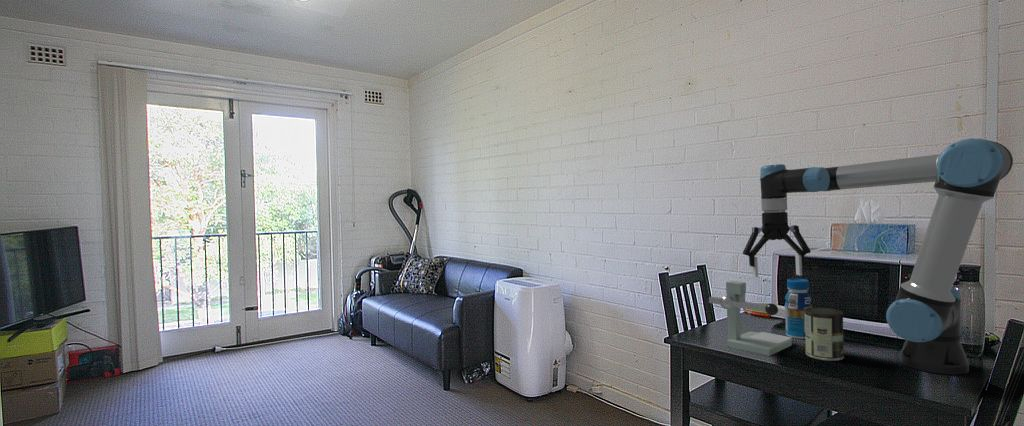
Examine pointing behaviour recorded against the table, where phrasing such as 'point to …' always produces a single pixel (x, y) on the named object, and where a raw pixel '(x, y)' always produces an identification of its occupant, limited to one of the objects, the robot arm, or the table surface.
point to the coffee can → (824, 333)
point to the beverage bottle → (796, 307)
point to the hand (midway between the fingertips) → (777, 275)
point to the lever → (743, 305)
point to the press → (750, 340)
